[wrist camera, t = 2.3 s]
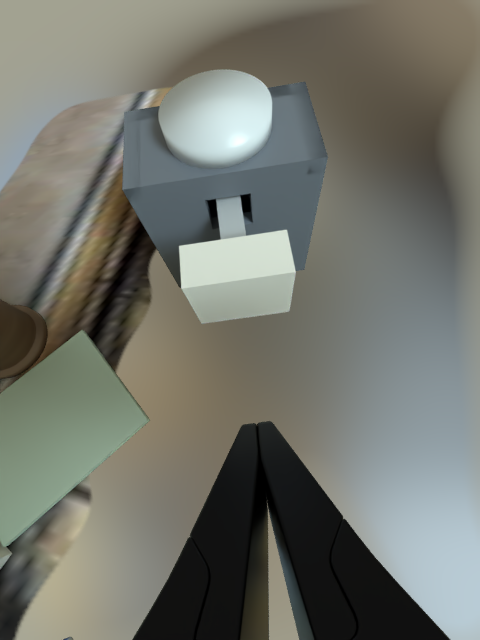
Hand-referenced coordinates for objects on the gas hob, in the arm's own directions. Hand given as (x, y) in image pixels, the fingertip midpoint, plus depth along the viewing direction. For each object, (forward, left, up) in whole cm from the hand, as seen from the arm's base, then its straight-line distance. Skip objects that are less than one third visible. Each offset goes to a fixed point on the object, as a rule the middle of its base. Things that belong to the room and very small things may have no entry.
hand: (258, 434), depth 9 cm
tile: (+9, +10, -10) cm, 17 cm away
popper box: (+11, -7, -10) cm, 17 cm away
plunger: (+7, -5, -5) cm, 10 cm away
